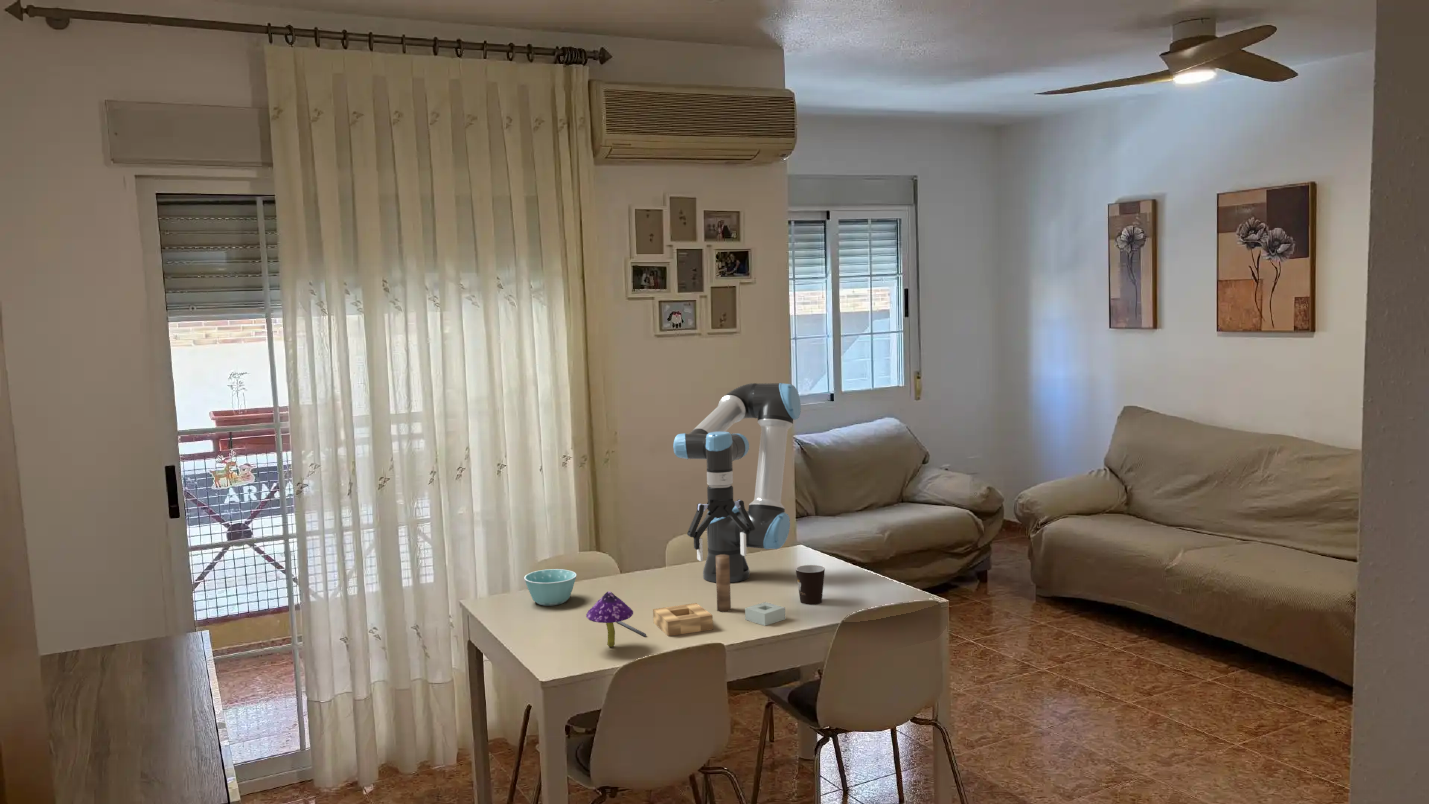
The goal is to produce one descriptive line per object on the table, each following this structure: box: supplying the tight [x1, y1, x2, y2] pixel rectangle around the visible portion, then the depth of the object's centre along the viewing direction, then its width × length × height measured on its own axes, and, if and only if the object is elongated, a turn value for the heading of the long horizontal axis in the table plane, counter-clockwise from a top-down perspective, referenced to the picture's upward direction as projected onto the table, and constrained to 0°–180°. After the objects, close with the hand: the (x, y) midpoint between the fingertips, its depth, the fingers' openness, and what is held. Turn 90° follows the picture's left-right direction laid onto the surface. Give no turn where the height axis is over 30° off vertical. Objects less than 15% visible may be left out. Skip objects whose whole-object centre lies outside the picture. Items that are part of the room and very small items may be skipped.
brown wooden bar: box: [715, 555, 732, 613], centre depth 312 cm, size 4×4×16 cm
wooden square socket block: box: [652, 602, 714, 637], centre depth 298 cm, size 13×13×4 cm
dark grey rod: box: [616, 621, 647, 637], centre depth 297 cm, size 17×1×1 cm, turn 33°
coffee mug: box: [795, 564, 826, 606], centre depth 319 cm, size 12×9×10 cm
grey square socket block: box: [744, 601, 786, 627], centre depth 302 cm, size 8×8×3 cm
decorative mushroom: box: [585, 591, 634, 648], centre depth 282 cm, size 12×12×15 cm
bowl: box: [523, 568, 578, 607], centre depth 326 cm, size 16×16×8 cm
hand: (722, 557), depth 311 cm, fingers open, 13 cm apart
